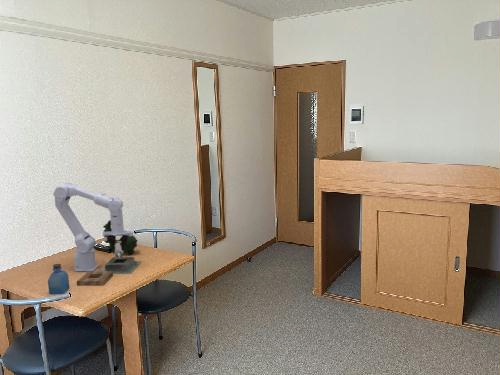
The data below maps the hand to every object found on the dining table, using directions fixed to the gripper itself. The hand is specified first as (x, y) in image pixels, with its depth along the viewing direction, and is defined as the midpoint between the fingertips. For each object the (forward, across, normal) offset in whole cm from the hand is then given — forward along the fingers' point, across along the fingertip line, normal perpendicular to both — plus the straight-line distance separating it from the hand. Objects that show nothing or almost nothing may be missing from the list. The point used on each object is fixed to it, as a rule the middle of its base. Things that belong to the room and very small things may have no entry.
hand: (119, 249), depth 206 cm
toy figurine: (+10, -8, +24) cm, 27 cm away
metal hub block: (+9, 0, 0) cm, 9 cm away
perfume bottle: (+10, -17, -28) cm, 34 cm away
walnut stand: (+9, -6, -16) cm, 19 cm away
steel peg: (+3, 0, 0) cm, 3 cm away
